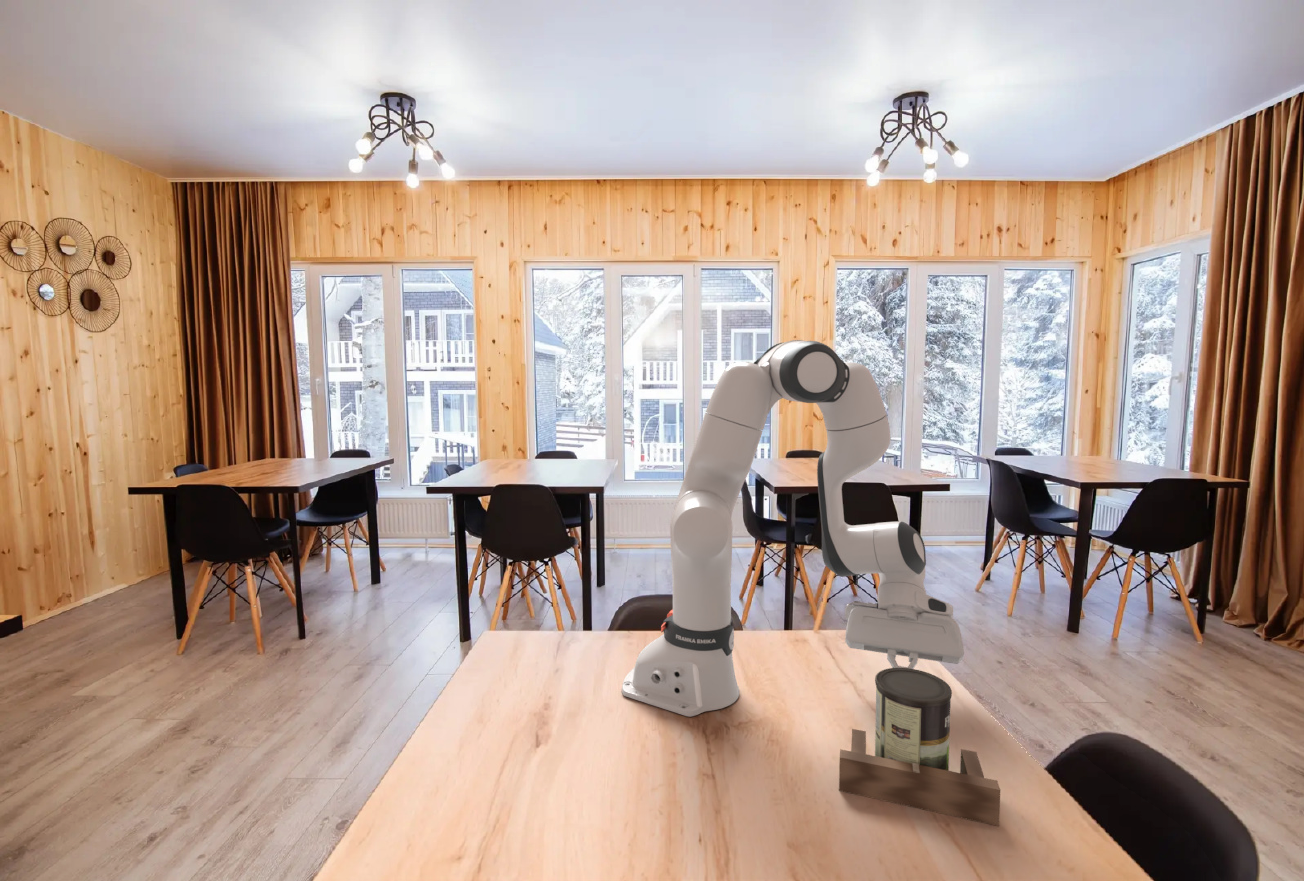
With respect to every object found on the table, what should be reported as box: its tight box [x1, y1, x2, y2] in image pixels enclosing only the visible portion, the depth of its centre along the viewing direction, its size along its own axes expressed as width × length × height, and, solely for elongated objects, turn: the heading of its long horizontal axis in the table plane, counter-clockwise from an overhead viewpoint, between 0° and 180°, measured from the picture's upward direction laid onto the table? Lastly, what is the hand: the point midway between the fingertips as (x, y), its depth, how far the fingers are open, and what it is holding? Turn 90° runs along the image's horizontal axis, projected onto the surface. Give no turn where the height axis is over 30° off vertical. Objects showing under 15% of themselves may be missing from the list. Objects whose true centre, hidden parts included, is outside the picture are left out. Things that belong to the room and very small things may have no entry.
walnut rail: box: [838, 728, 1001, 827], centre depth 82 cm, size 20×8×5 cm, turn 69°
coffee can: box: [874, 667, 953, 771], centre depth 85 cm, size 10×10×14 cm
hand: (902, 678), depth 103 cm, fingers closed
